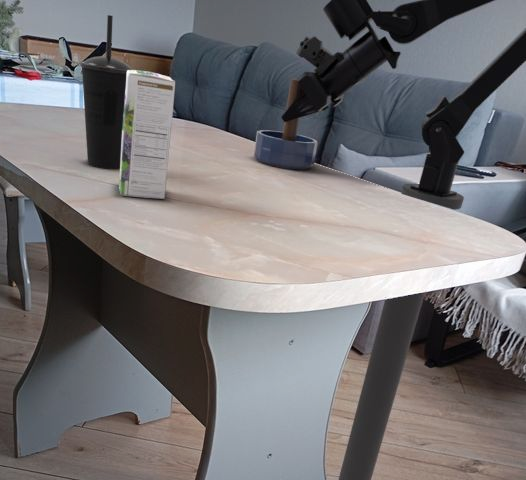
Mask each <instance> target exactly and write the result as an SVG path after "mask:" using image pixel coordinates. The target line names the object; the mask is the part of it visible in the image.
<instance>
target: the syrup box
mask: <svg viewBox="0 0 526 480" xmlns="http://www.w3.org/2000/svg"><path fill="white" fill-rule="evenodd" d="M175 89H176V80H173V79H172V78H171V77H170V76H168V75H163V74H160V73H157V72H152V71H147V70H139V69H137V70H136V69H134V70H127V74H126V90H125V101H124V114H123V126H122V142H121V161H120V168H119V182H118V186H119V188H118V189H119V194H120V195H121V196H124V197H136V198H145V199H159V200H165V199H166V186H167V179H168V166H169V155H170V144H171V134H172V124H173V116H174V115H173V113H174V102H175Z"/></svg>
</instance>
